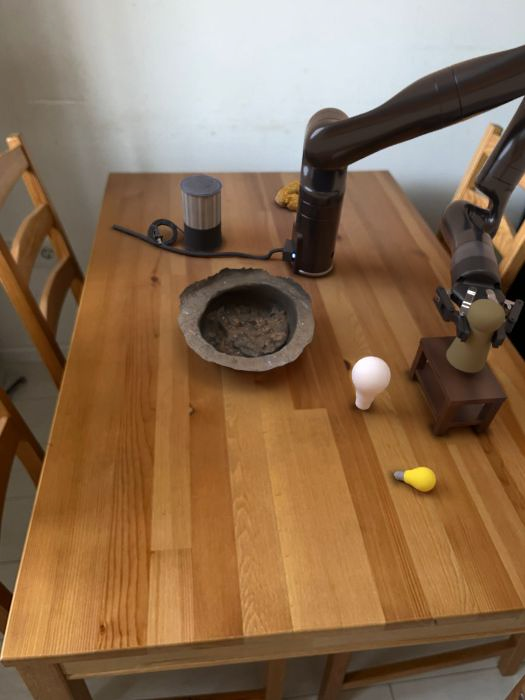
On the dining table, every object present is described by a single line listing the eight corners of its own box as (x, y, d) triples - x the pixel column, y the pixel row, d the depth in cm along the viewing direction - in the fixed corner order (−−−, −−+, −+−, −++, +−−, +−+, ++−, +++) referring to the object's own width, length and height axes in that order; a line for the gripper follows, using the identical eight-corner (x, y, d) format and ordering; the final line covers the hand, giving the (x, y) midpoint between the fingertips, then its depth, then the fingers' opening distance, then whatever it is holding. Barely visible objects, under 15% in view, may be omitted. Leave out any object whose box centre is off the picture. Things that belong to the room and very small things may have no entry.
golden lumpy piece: (272, 194, 139) (273, 177, 135) (312, 194, 140) (314, 177, 137) (277, 213, 132) (278, 196, 128) (319, 212, 133) (321, 195, 130)
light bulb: (435, 496, 76) (434, 488, 73) (394, 488, 78) (391, 481, 76) (437, 474, 77) (436, 466, 75) (397, 467, 80) (394, 459, 77)
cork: (486, 375, 79) (514, 323, 72) (447, 368, 80) (470, 316, 72) (483, 348, 84) (509, 296, 76) (445, 342, 84) (467, 290, 76)
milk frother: (230, 247, 120) (230, 188, 109) (169, 267, 113) (163, 206, 103) (200, 219, 128) (197, 162, 117) (142, 236, 121) (133, 177, 111)
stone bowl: (247, 283, 110) (251, 248, 103) (335, 351, 99) (346, 316, 92) (151, 335, 97) (149, 298, 90) (241, 419, 86) (246, 385, 79)
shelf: (435, 436, 84) (451, 401, 77) (407, 373, 94) (420, 337, 87) (486, 432, 85) (507, 397, 79) (454, 370, 95) (470, 334, 88)
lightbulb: (371, 427, 85) (385, 382, 77) (338, 410, 87) (348, 366, 79) (385, 403, 88) (400, 358, 81) (353, 388, 90) (364, 343, 83)
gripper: (438, 247, 85) (439, 313, 73) (527, 261, 83) (543, 331, 72) (426, 283, 91) (425, 350, 79) (509, 297, 89) (521, 367, 77)
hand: (481, 340), depth 75 cm, fingers closed on cork, 4 cm apart
